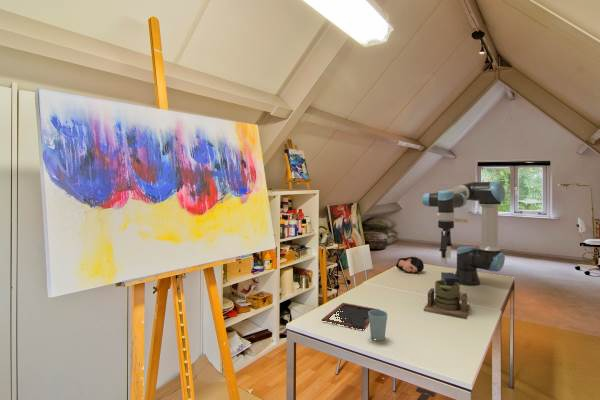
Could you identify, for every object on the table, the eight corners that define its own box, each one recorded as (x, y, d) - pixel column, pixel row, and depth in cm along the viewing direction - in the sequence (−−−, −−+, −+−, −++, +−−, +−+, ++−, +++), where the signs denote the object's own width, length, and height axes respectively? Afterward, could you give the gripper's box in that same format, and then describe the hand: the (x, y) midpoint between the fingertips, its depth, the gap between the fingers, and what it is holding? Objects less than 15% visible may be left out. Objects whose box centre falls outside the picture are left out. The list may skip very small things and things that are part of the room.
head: (393, 264, 233) (423, 266, 225) (395, 252, 243) (424, 254, 235) (394, 276, 239) (423, 279, 231) (396, 264, 249) (424, 266, 241)
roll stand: (431, 300, 179) (431, 285, 178) (469, 307, 168) (470, 291, 168) (423, 311, 164) (423, 294, 163) (465, 319, 153) (466, 301, 153)
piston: (457, 288, 158) (432, 284, 164) (457, 312, 158) (432, 307, 165) (461, 282, 167) (438, 278, 173) (461, 305, 167) (438, 301, 174)
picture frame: (363, 332, 142) (379, 312, 163) (363, 327, 142) (379, 309, 163) (321, 323, 152) (342, 305, 173) (321, 318, 152) (342, 302, 173)
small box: (440, 292, 193) (440, 271, 192) (453, 292, 191) (453, 272, 191) (446, 299, 180) (446, 278, 179) (459, 300, 178) (459, 278, 178)
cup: (385, 343, 130) (385, 318, 130) (366, 339, 133) (366, 314, 133) (389, 336, 137) (389, 311, 136) (371, 332, 140) (371, 308, 140)
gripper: (441, 217, 181) (442, 255, 183) (433, 222, 160) (434, 265, 161) (456, 218, 177) (456, 256, 179) (450, 223, 156) (450, 267, 157)
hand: (446, 260), depth 170 cm, fingers open, 13 cm apart
